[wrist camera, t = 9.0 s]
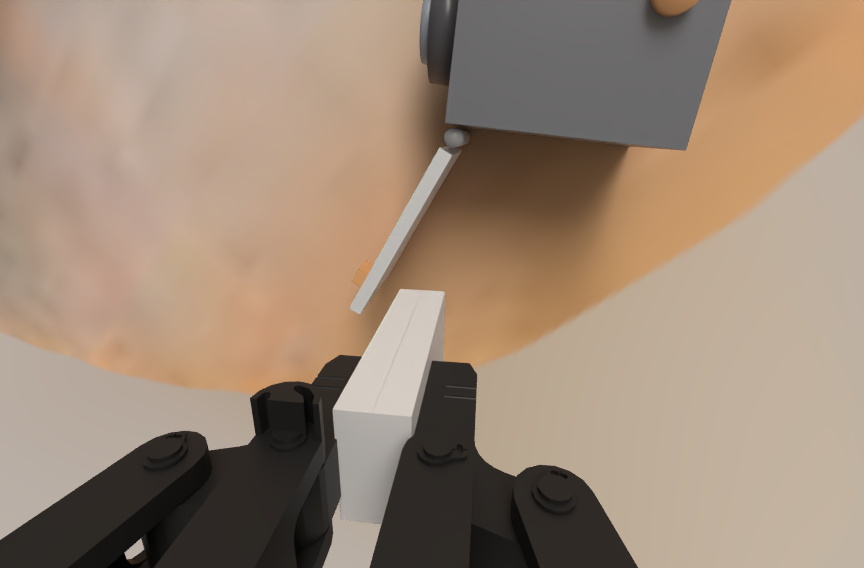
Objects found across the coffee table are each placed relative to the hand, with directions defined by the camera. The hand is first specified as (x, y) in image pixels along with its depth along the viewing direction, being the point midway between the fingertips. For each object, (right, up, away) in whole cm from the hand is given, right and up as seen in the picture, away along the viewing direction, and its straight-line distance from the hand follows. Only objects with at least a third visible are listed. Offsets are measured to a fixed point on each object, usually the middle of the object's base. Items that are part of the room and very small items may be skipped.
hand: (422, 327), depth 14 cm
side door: (-1, +8, +18) cm, 20 cm away
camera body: (+7, +16, +14) cm, 23 cm away
